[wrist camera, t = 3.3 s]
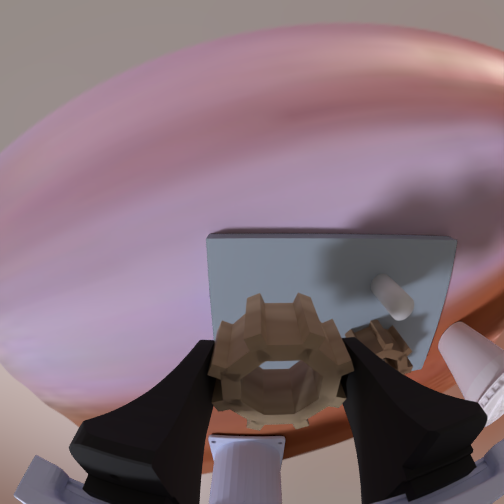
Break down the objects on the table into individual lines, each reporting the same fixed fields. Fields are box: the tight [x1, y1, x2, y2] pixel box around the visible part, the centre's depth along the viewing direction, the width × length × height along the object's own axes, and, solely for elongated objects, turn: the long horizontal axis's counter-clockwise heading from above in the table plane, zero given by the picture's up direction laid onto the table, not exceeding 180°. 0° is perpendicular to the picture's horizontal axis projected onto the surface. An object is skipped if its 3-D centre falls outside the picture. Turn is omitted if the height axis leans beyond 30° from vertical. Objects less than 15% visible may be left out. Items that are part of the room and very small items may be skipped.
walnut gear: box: [345, 320, 413, 375], centre depth 18 cm, size 5×5×3 cm
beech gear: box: [207, 293, 354, 431], centre depth 11 cm, size 5×5×3 cm
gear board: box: [206, 234, 457, 371], centre depth 17 cm, size 12×18×5 cm, turn 91°
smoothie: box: [438, 322, 504, 427], centre depth 14 cm, size 6×6×14 cm
